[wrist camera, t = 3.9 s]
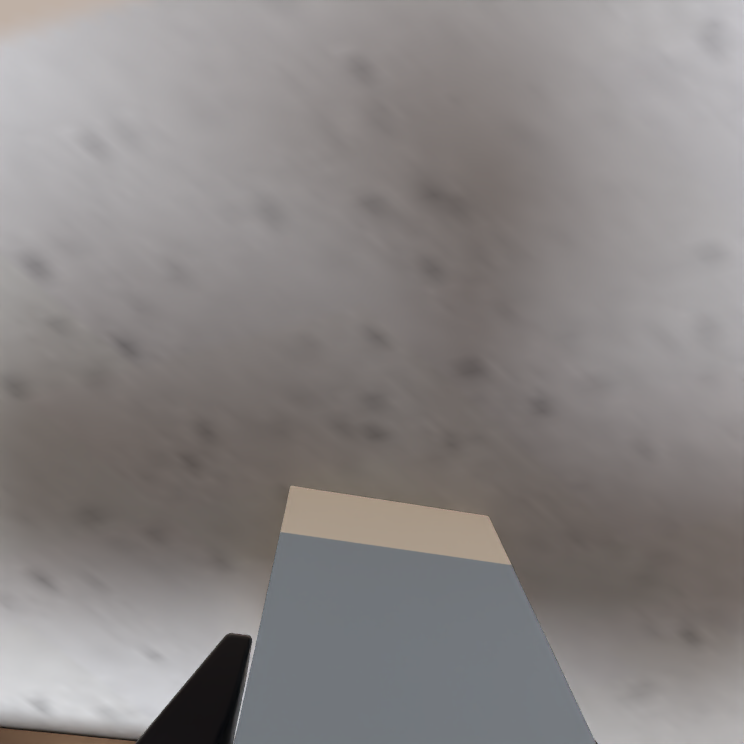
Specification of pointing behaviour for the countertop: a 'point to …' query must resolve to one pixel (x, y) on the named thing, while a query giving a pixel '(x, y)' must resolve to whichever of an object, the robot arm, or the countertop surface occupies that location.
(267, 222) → the countertop surface
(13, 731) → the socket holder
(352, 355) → the countertop surface
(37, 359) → the countertop surface
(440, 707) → the banded block
